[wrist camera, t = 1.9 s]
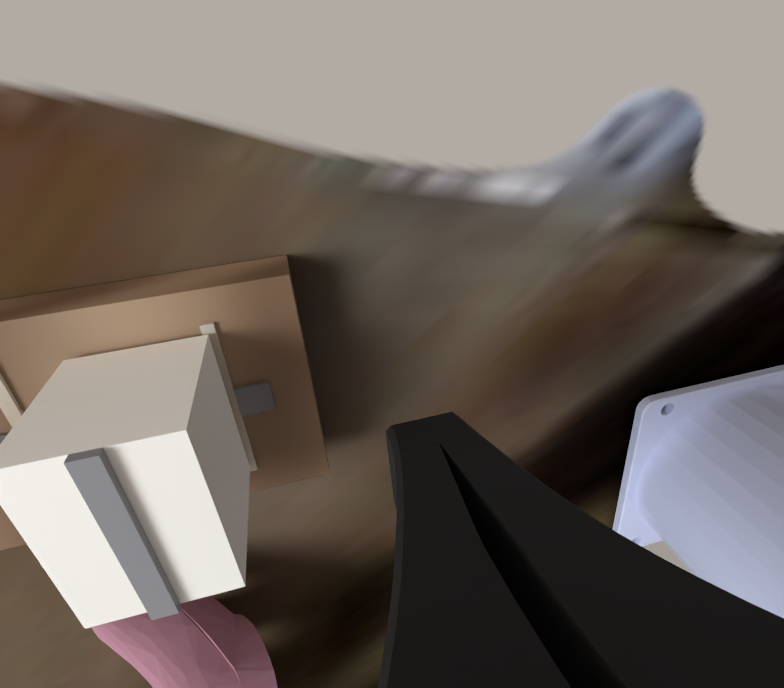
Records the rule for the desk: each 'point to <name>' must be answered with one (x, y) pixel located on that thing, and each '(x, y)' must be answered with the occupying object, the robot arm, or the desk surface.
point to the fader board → (174, 322)
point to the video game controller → (193, 648)
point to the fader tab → (131, 481)
